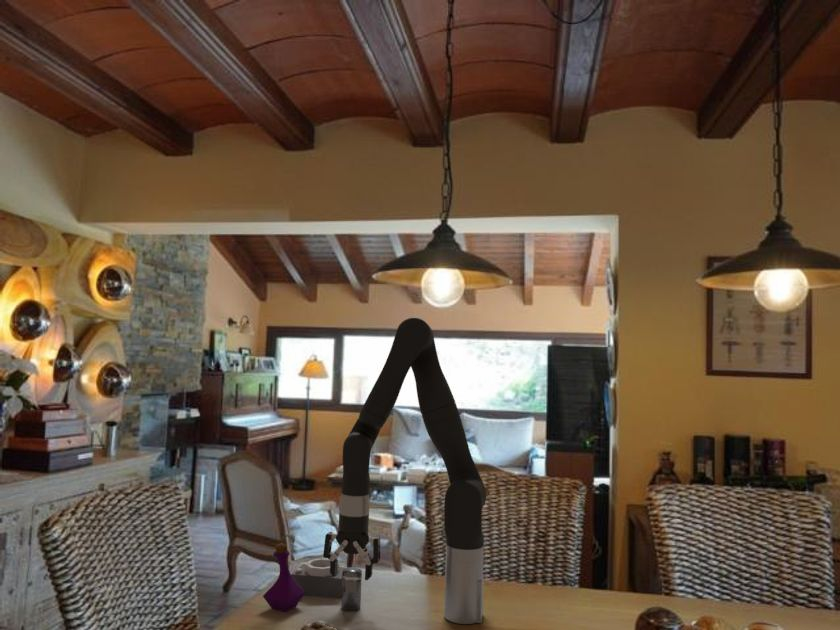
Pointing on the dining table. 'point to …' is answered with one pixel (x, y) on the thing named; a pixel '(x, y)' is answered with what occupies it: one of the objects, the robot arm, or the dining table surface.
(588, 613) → the dining table surface
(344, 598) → the lens
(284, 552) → the perfume bottle
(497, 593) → the dining table surface
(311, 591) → the camera body
